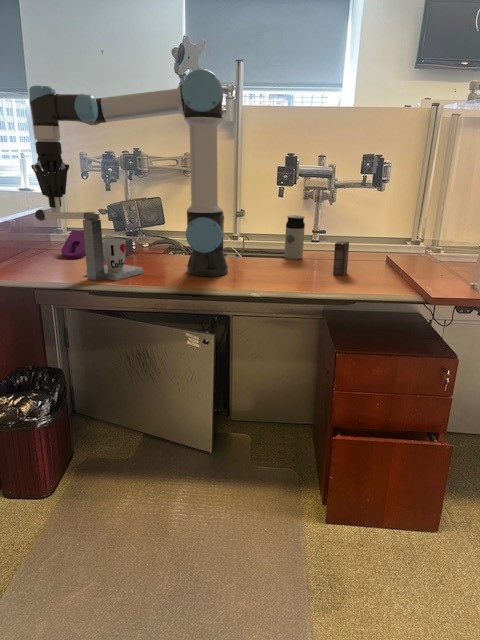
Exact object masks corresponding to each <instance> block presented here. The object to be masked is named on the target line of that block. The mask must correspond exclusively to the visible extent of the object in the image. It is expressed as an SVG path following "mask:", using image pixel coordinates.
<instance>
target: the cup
mask: <svg viewBox="0 0 480 640" xmlns="http://www.w3.org/2000/svg"><path fill="white" fill-rule="evenodd" d="M102 244H103V258H104V263H105V265H107V267H108V269H109V270H120V269H123V265H125V259H126V239H123V238H107V239H102Z"/></svg>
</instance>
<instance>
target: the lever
mask: <svg viewBox="0 0 480 640" xmlns="http://www.w3.org/2000/svg"><path fill="white" fill-rule="evenodd" d="M34 217H35V219H36V220H38V221H41V222H42V221H45V220H47V219H50V220H51V219H53V220H54V219H55V220H97V219H98V220H101V218H100V212H98V211H85V212H83V211H82V212H81V211H61V212H52V211H45V210H44V209H41V208H39V209H37V210H36V211H35V213H34Z"/></svg>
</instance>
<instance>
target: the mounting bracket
mask: <svg viewBox="0 0 480 640" xmlns="http://www.w3.org/2000/svg"><path fill="white" fill-rule="evenodd" d="M61 254H62V257H63V258H64V259H66V258H68V259H67V260H78V259H80V258H82V257H84V256H86V252H85V240H84V229H83V230H81V229H78V230H77V229H76V230H75V229H72V230H71V232H70V233H69V234H68V237H67V239H66V240H65V242H64V244H63V246H62V247H61Z"/></svg>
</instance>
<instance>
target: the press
mask: <svg viewBox="0 0 480 640" xmlns="http://www.w3.org/2000/svg"><path fill="white" fill-rule="evenodd" d="M82 225H83V226H82V228H83V230H84V240H85V252H86V253H85V261H86V262H85V263H86V269H85V274H86V276H87V280H90V281H93V282H94V281H96V282H97V281H101V280H110V281H114V282H115V281H120V280H124V279H127V278H131V277H133V276H134V277H135V276H138V275H141V274H144V267H140V266H135V265H130V264H124V265H123V269H120V270H109V269H108V267H107V265H106V264H105V258H104V254H103V244H102V240H103V233H102V231H103V230H102V219H97V220H85V219H82Z"/></svg>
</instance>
